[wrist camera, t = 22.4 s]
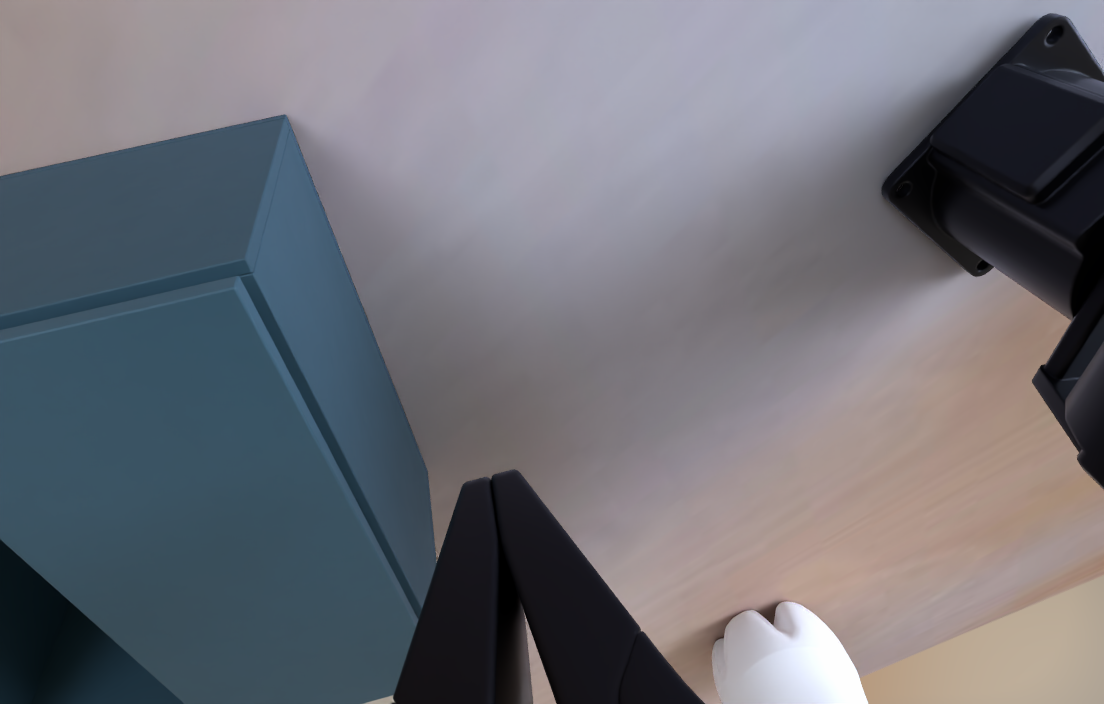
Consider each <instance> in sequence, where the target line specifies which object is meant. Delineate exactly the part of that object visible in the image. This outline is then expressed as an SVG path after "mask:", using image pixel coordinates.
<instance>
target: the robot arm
mask: <svg viewBox="0 0 1104 704" xmlns="http://www.w3.org/2000/svg"><path fill="white" fill-rule="evenodd" d="M1051 29H1052V31H1051V33H1050V35H1049V36H1048V37H1047V35H1048V33H1049V32H1050V30H1051ZM902 184H903V186H902V187H901V189H899V190H898V191H897V189H898V187H899V186H900V185H902ZM896 191H897V192H896ZM882 195H883V196H884V198H885V199H886V200H888V201H889V202H890V203H891V204H892V205H893V206H894V207H895V208H896V209H898V210H899V211H900V212H901V213H902V214H903V215H904V216H905V217H906V218H908V219H909V220H910V221H911V222H912V223H913V224H914V225H915V226H916V227H918V228H919V229H920V230H921V231H922V232H923V233H924V234H925V235H927V236H928V237H929V238H930V239H931V240H932V241H933V242H934V243H935V244H937V245H938V246H939V247H940V248H941V249H942V250H943V251H944V252H945V253H947V254H948V255H949V256H950V257H951V258H952V259H953V260H954V261H955V262H957V263H958V264H959V265H960V266H961V267H962V268H963V269H964V270H966V271H967V272H968V273H970V274H971V275H973V276H975V277H976V276H982V275H984V274H986V273H987V272H989V271H990V270H991V269H992V268H993V267H995V268H996V269H998V270H999V271H1001V272H1002V273H1004V274H1005V275H1006V276H1008V277H1009V278H1011V279H1012V280H1014V281H1015V282H1017V283H1018V284H1019V285H1021V286H1022V287H1024V288H1025V289H1027V290H1028V291H1030V292H1031V293H1032V294H1034V295H1035V296H1037V297H1038V298H1040V299H1041V300H1043V301H1044V302H1045V303H1047V304H1048V305H1050V306H1051V307H1053V308H1054V309H1055V310H1057V311H1058V312H1060V313H1061V314H1063V315H1064V316H1066V317H1067V318H1068V319H1070V320H1071V321H1072V322H1071V323H1070V325H1069V327H1068V328H1067V330H1066V332H1065V333H1064V335H1063V337H1062V338H1061V340H1060V341H1059V343H1058V345H1057V346H1056V348H1055V350H1054V351H1053V353H1052V355H1051V356H1050V358H1049V360H1048V361H1047V363H1046V364H1045V365H1041V366H1040V368H1039V369H1038V371H1037V373H1036V374H1035V376H1034V378H1033V379H1032V383H1033V385H1034V386H1035V388H1036V389H1037V390H1038V392H1039V393H1040V395H1041V396H1042V398H1043V399H1044V401H1045V402H1046V404H1047V405H1048V407H1049V408H1050V410H1051V411H1052V413H1053V414H1054V416H1055V417H1056V419H1057V420H1058V422H1059V423H1060V425H1061V426H1062V428H1063V429H1064V431H1065V432H1066V434H1067V435H1068V437H1069V438H1070V440H1071V441H1072V443H1073V444H1074V446H1075V447H1076V449H1077V450H1078V452H1079V454H1078V455H1077V460H1078V462H1079V464H1080V465H1081V467H1082V468H1083V470H1084V471H1085V472H1086V473H1087V474H1088V475H1089V476H1090V477H1091V478H1092V479H1093V480H1094V481H1096V482H1097V483H1098V484H1099V485H1100V486H1101V487H1102V488H1103V489H1104V71H1103V70H1102V68H1101V66H1100V65H1099V63H1098V62H1097V60H1096V59H1095V57H1094V56H1093V54H1092V53H1091V51H1090V50H1089V48H1088V46H1087V45H1086V43H1085V42H1084V40H1083V39H1082V37H1081V36H1080V34H1079V33H1078V31H1077V29H1076V28H1075V26H1074V25H1073V23H1072V22H1071V20H1070V19H1069V18H1067V17H1066V16H1062V15H1058V14H1047V15H1045V16H1043V17H1042V18H1040V19H1039V20H1038V21H1037V22H1036V23H1035V24H1034V25H1033V26H1032V27H1031V28H1030V29H1029V30H1028V31H1027V32H1026V33H1025V34H1024V35H1023V36H1022V37H1021V38H1020V39H1019V40H1018V42H1017V43H1016V44H1015V45H1014V46H1013V47H1012V48H1011V49H1010V50H1009V51H1008V52H1007V53H1006V54H1005V55H1004V56H1003V57H1002V58H1001V59H1000V60H999V61H998V62H997V64H996V65H995V66H994V67H993V68H992V69H991V70H990V71H989V72H988V73H987V74H986V75H985V76H984V77H983V78H982V79H981V80H980V81H979V82H978V83H977V84H976V85H975V87H974V88H973V89H972V90H971V91H970V92H969V93H968V94H967V95H966V96H965V97H964V98H963V99H962V100H961V101H960V102H959V103H958V104H957V105H956V106H955V107H954V109H953V110H952V111H951V112H950V113H949V114H948V115H947V116H946V117H945V118H944V119H943V120H942V121H941V122H940V123H939V124H938V125H937V126H936V127H935V128H934V129H933V131H932V132H931V133H930V134H929V135H928V136H927V137H926V138H925V139H924V140H923V141H922V142H921V143H920V144H919V145H918V146H917V147H916V148H915V149H914V150H913V151H912V152H911V154H910V155H909V156H908V157H907V158H906V159H905V160H904V161H903V162H902V163H901V164H900V165H899V166H898V167H897V168H896V169H895V170H894V171H893V172H892V173H891V174H890V176H889V177H888V178H887V179H886V180H885V182H884V184H883V186H882ZM524 613H525V615H526V618H527V621H528V624H529V627H530V630H531V633H532V635H533V638H534V641H535V644H536V647H537V649H538V652H539V655H540V658H541V661H542V664H543V666H544V669H545V672H546V675H547V678H548V681H549V683H550V686H551V689H552V692H553V695H554V698H555V700H556V703H557V704H705V703H704V702H703V701H702V700H701V699H700V698H699V697H698V696H697V695H696V694H695V693H694V692H693V691H692V689H691V688H690V687H689V686H688V685H687V684H686V683H685V682H684V681H683V680H682V678H681V677H680V676H679V675H678V674H677V672H676V671H675V670H674V669H673V668H672V666H671V665H670V664H669V663H668V662H667V660H666V659H665V658H664V657H663V656H662V654H661V653H660V652H659V651H658V649H657V648H656V647H655V646H654V644H653V643H652V642H651V640H650V639H649V638H648V637H647V635H646V634H645V633H644V632H643V631H641V629H640V627H639V625H638V624H637V623H636V622H635V620H634V619H633V618H632V616H631V615H630V614H629V613H628V611H627V610H626V609H625V607H624V606H623V605H622V603H621V602H620V601H619V600H618V598H617V597H616V596H615V594H614V593H613V592H612V591H611V589H610V588H609V587H608V585H607V584H606V583H605V582H604V580H603V579H602V578H601V576H600V575H599V574H598V573H597V571H596V570H595V569H594V567H593V566H592V565H591V564H590V562H589V561H588V560H587V558H586V557H585V556H584V555H583V553H582V552H581V551H580V549H579V548H578V547H577V545H576V544H575V543H574V542H573V540H572V539H571V538H570V536H569V535H568V534H567V533H566V531H565V530H564V529H563V527H562V526H561V525H560V524H559V522H558V521H557V520H556V518H555V517H554V516H553V515H552V513H551V512H550V511H549V509H548V508H547V507H546V506H545V504H544V503H543V502H542V500H541V499H540V498H539V497H538V495H537V494H536V493H535V491H534V490H533V489H532V487H531V486H530V485H529V484H528V482H527V481H526V480H525V478H524V477H523V476H522V475H521V473H520V472H519V471H517V470H515V469H513V470H509V471H505V472H501V473H498V474H495V475H493V476H492V478H491V479H490V478H489V477H483V478H479V479H475V480H472V481H468V482H466V483H464V484H463V486H462V488H461V491H460V494H459V497H458V500H457V503H456V506H455V509H454V512H453V515H452V518H451V521H450V524H449V527H448V530H447V534H446V537H445V540H444V543H443V546H442V549H441V552H440V555H439V558H438V561H437V564H436V567H435V570H434V573H433V576H432V579H431V582H430V585H429V589H428V592H427V595H426V598H425V601H424V604H423V607H422V610H421V613H420V616H419V619H418V622H417V625H416V628H415V631H414V634H413V637H412V640H411V644H410V647H409V650H408V653H407V656H406V659H405V662H404V665H403V668H402V671H401V674H400V677H399V680H398V683H397V686H396V689H395V692H394V695H393V700H394V702H395V703H391V704H533V696H532V685H531V674H530V664H529V653H528V643H527V632H526V624H525V615H524Z"/></svg>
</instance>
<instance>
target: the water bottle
mask: <svg viewBox="0 0 1104 704" xmlns="http://www.w3.org/2000/svg"><path fill="white" fill-rule="evenodd" d="M712 666H713V676H714V680H715V685H716V688H717V691H718V694H719V697H720V700H721V702H722V704H868V701H867V699H866V696H865V693H864V691H863V688H862V685H861V682H860V679H859V675H858V672H857V670H856V668H855V666H854V665H853V663H852V661H851V660H850V658H849V656H848V654H847V653H846V651H845V649H844V648H843V646H842V644H841V643H840V641H839V640H838V638H837V637H836V636H835V635H834V633H833V632H832V631H831V630H830V629H829V628H828V626H827V625H826V624H825V623H824V622H823V621H822V620H820V619H819V618H818V617H817V616H816V615H815V614H813V613H812V612H811V611H809V610H808V609H806V608H805V607H803V606H802V605H800V604H797V603H794V602H788V601H785V602H781V603H780V604H779V605H778V606H777V607H776V612H775V619H774V625H772V624H771V623H770V622H769V621H768V620H767V619H765V618H764V617H763V616H762V615H761V614H759V613H758V612H756V611H755V610H750V611H749V610H748V611H744V612H742V613H740V614H738V615H737V616H735V617H734V618H732V619H731V621H730V622H729V624H728V625H727V626H726V628H725V634H724V639H718V640H717V641H716V642H715V644H714V646H713V650H712Z"/></svg>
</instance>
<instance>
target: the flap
mask: <svg viewBox="0 0 1104 704" xmlns="http://www.w3.org/2000/svg"><path fill="white" fill-rule="evenodd" d="M0 539H1V540H2V541H3V542H4V543H5V544H6V545H7V546H8V547H9V548H11V549H12V550H13V551H14V552H15V553H16V554H17V555H18V556H20V557H21V558H22V559H23V560H24V561H25V562H26V563H27V564H29V565H30V566H31V567H32V568H33V569H34V570H35V571H36V572H37V573H39V574H40V575H41V576H42V577H43V578H44V579H45V580H46V581H48V582H49V583H50V584H51V585H52V586H53V587H54V588H55V589H57V590H58V591H59V592H60V593H61V594H62V595H63V596H64V597H65V598H67V599H68V600H69V601H70V602H71V603H72V604H73V605H74V606H76V607H77V608H78V609H79V610H80V611H81V612H82V613H83V614H85V615H86V616H87V617H88V618H89V619H90V620H91V621H92V622H93V623H95V624H96V625H97V626H98V627H99V628H100V629H101V630H102V631H104V632H105V633H106V634H107V635H108V636H109V637H110V638H111V639H113V640H114V641H115V642H116V643H117V644H118V645H119V646H120V647H122V648H123V649H124V650H125V651H126V652H127V653H128V654H129V655H130V656H132V657H133V658H134V659H135V660H136V661H137V662H138V663H139V664H141V665H142V666H143V667H144V668H145V669H146V670H147V671H148V672H150V673H151V674H152V675H153V676H154V677H155V678H156V679H157V680H158V681H160V682H161V683H162V684H163V685H164V686H165V687H166V688H167V689H169V690H170V691H171V692H172V693H173V694H174V695H175V696H176V697H178V698H179V699H180V700H181V701H182V702H183V703H184V704H364V703H367V702H371V701H374V700H378V699H382V698H385V697H389V696H392V695H394V692H395V689H396V686H397V683H398V680H399V677H400V674H401V671H402V668H403V665H404V662H405V659H406V656H407V653H408V650H409V647H410V644H411V640H412V637H413V634H414V631H415V628H416V625H417V622H418V618H417V616H416V614H415V612H414V611H413V609H412V607H411V605H410V603H409V601H408V599H407V597H406V595H405V593H404V591H403V589H402V588H401V586H400V584H399V582H398V580H397V578H396V576H395V574H394V572H393V570H392V568H391V566H390V565H389V563H388V561H387V559H386V557H385V555H384V553H383V551H382V549H381V547H380V545H379V543H378V542H377V540H376V538H375V536H374V534H373V532H372V530H371V528H370V526H369V524H368V522H367V520H366V519H365V517H364V515H363V513H362V511H361V509H360V507H359V505H358V503H357V501H356V499H355V497H354V495H353V494H352V492H351V490H350V488H349V486H348V484H347V482H346V480H345V478H344V476H343V474H342V472H341V471H340V469H339V467H338V465H337V463H336V461H335V459H334V457H333V455H332V453H331V451H330V449H329V448H328V446H327V444H326V442H325V440H324V438H323V436H322V434H321V432H320V430H319V428H318V426H317V425H316V423H315V421H314V419H313V417H312V415H311V413H310V411H309V409H308V407H307V405H306V403H305V402H304V400H303V398H302V396H301V394H300V392H299V390H298V388H297V386H296V384H295V382H294V380H293V379H292V377H291V375H290V373H289V371H288V369H287V367H286V365H285V363H284V361H283V359H282V357H281V355H280V354H279V352H278V350H277V348H276V346H275V344H274V342H273V340H272V338H271V336H270V334H269V332H268V331H267V329H266V327H265V325H264V323H263V321H262V319H261V317H260V315H259V313H258V311H257V309H256V308H255V306H254V304H253V302H252V300H251V298H250V296H249V294H248V292H247V290H246V288H245V286H244V285H243V283H242V281H241V279H240V277H239V276H234V277H229V278H225V279H221V280H216V281H212V282H208V283H203V284H199V285H195V286H190V287H186V288H182V289H177V290H173V291H169V292H164V293H160V294H155V295H151V296H147V297H142V298H138V299H134V300H129V301H125V302H121V303H116V304H112V305H108V306H103V307H99V308H95V309H90V310H86V311H82V312H77V313H73V314H69V315H64V316H60V317H56V318H51V319H47V320H43V321H38V322H34V323H30V324H25V325H21V326H17V327H12V328H8V329H3V330H0Z"/></svg>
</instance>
